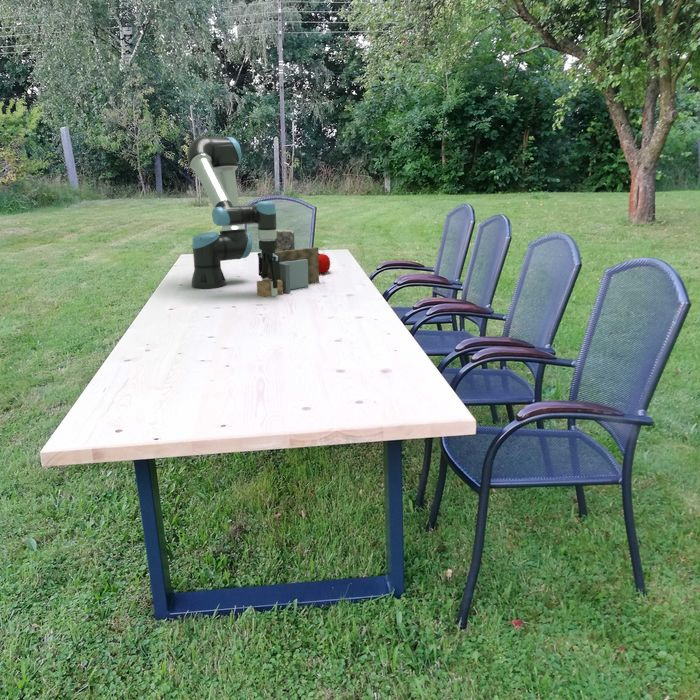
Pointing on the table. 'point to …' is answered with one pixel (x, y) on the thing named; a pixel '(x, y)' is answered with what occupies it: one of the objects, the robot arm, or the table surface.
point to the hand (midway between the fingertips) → (270, 294)
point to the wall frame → (302, 254)
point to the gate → (294, 274)
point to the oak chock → (268, 288)
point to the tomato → (323, 263)
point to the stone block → (285, 241)
